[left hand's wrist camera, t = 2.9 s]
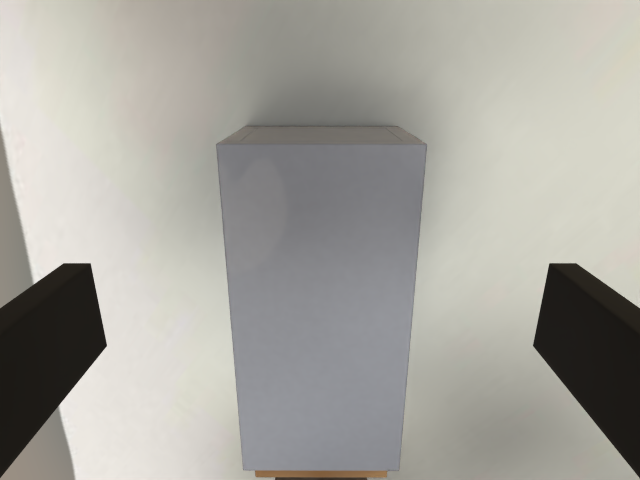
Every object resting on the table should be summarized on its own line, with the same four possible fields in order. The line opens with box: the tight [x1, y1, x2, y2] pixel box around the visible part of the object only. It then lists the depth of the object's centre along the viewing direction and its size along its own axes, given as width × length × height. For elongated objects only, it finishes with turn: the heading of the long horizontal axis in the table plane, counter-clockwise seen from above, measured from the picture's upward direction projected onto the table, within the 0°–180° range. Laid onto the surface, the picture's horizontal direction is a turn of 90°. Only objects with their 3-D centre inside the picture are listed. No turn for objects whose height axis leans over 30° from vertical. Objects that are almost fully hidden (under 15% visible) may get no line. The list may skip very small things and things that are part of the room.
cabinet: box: [216, 126, 427, 471], centre depth 29 cm, size 22×11×9 cm, turn 0°
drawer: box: [255, 470, 387, 480], centre depth 31 cm, size 26×9×7 cm, turn 0°
